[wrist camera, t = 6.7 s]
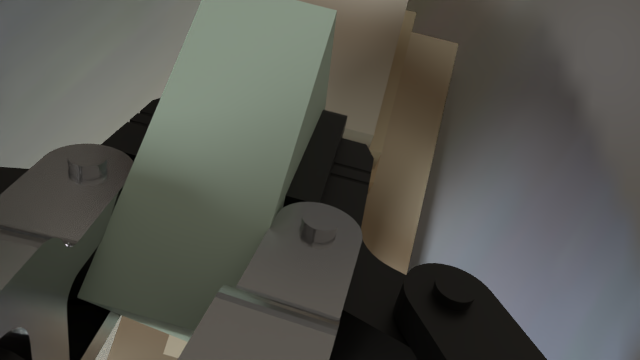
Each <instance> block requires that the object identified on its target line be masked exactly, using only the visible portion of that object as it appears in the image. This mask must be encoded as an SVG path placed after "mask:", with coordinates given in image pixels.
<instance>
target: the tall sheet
mask: <svg viewBox="0 0 640 360" xmlns="http://www.w3.org/2000/svg"><path fill="white" fill-rule="evenodd" d="M336 15H337V10H333V9H329V8H325V7H321V6H318V5H314V4H310V3H306V2H302V1H298V0H202V1H201V3H200V6H199V8H198V10H197V13H196V15H195V17H194V20H193V22H192V25H191V27H190V29H189V32H188V34H187V37H186V39H185V41H184V44H183V46H182V48H181V51H180V53H179V56H178V58H177V60H176V63H175V65H174V67H173V70H172V72H171V75H170V77H169V79H168V82H167V84H166V86H165V89H164V91H163V94H162V96H161V98H160V101H159V103H158V106H157V108H156V110H155V113H154V115H153V117H152V120H151V122H150V125H149V127H148V129H147V132H146V134H145V136H144V139H143V141H142V144H141V146H140V148H139V151H138V153H137V155H136V158H135V160H134V163H133V165H132V167H131V170H130V172H129V174H128V177H127V179H126V182H125V184H124V186H123V189H122V191H121V194H120V196H119V198H118V201H117V203H116V205H115V208H114V210H113V213H112V215H111V217H110V220H109V223H108V226H107V228H106V231H105V234H104V237H103V239H102V242H101V243H100V244H99V246H98V248H97V251H96V253H95V255H94V258H93V260H92V263H91V265H90V267H89V270H88V272H87V274H86V277H85V279H84V282H83V284H82V286H81V289H80V291H79V293H78V296H77V298H80V299H82V300H85V301H87V302H90V303H92V304H95V305H97V306H100V307H102V308H105V309H107V310H110V311H112V312H114V313H117V314H119V315H122V316H124V317H127V318H129V319H132V320H134V321H137V322H139V323H142V324H144V325H147V326H149V327H152V328H154V329H157V330H159V331H162V332H164V333H167V334H169V335H172V336H174V337H177V338H179V339H182V340H184V341H187V342H188V341H189V339H190V338H191V336H192V334H193V333H194V331H195V329H196V328H197V326H198V324H199V323H200V321H201V319H202V318H203V316H204V314H205V312H206V311H207V309H208V307H209V306H210V304H211V302H212V301H213V299H214V297H215V296H216V294H217V293H218V291H219V290H220V289H221V287H223V286H224V285H230V286H233V287H236V286H237V284H238V282H239V280H240V278H241V277H242V275H243V273H244V271H245V270H246V268H247V266H248V264H249V262H250V261H251V259H252V257H253V255H254V253H255V252H256V250H257V248H258V246H259V245H260V243H261V241H262V239H263V237H264V236H265V234H266V232H267V230H268V228H269V229H270V227H271V224H272V222H273V220H274V218H275V216H276V214H277V213H278V212H279V211H280V210H281V209H282V208H283V206H284V201H285V196H286V193H287V191H288V189H289V186H290V184H291V182H292V180H293V177H294V175H295V173H296V170H297V168H298V166H299V164H300V161H301V159H302V157H303V154H304V152H305V150H306V148H307V145H308V143H309V141H310V138H311V136H312V134H313V132H314V129H315V127H316V125H317V122H318V120H319V118H320V116H321V113H322V111H323V110H325V106H326V97H327V89H328V81H329V73H330V64H331V56H332V48H333V40H334V31H335V23H336Z"/></svg>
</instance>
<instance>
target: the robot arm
mask: <svg viewBox="0 0 640 360" xmlns="http://www.w3.org/2000/svg"><path fill="white" fill-rule="evenodd" d="M159 101H160V98H159V99H156V100H153V101H151V102H150V103H149V104H148V105H147V106H146V107H144V108H143V109H142V110H141V111H140V114H139V113H137V114H136V115H135V116H134V117H133V118H132V119H130V122H127V123H126V124H125V125H123V126H122V127H121V128H120V129H119V130H117V131H116V132H115V133H114V134H113V135H112V136H110V137H109V138H108V139H107V140H106V141H105V142H103V143H102V144H101V145H99V144H75V145H69V146H65V147H61V148H58V149H55V150H53V151H51V152H49V153H48V154H47V155H45V156H44V157H43V158H42V159H41V160H39V161H38V162H37V163H36V164H35V165H34V166H32V167H31V168H30V169H21V168H7V167H0V360H95V358H96V357H97V355H98V353H99V352H100V350H101V348H102V346H103V345H104V343H105V341H106V340H107V338H108V336H109V334H110V333H111V331H112V329H113V328H114V326H115V324H116V322H117V321H118V319H119V317H120V316H121V315H119V314H117V313H114V312H112V311H110V310H107V309H105V308H102V307H100V306H97V305H95V304H92V303H90V302H87V301H85V300H82V299H80V298H77V296H78V293H79V291H80V289H81V286H82V284H83V282H84V279H85V277H86V274H87V272H88V270H89V267H90V265H91V263H92V260H93V258H94V255H95V253H96V251H97V248H98V246H99V244H100V243H101V242H102V239H103V237H104V234H105V231H106V228H107V226H108V223H109V220H110V217H111V215H112V213H113V210H114V208H115V205H116V203H117V201H118V198H119V196H120V194H121V191H122V189H123V186H124V184H125V182H126V179H127V177H128V174H129V172H130V170H131V167H132V165H133V163H134V160H135V158H136V155H137V153H138V151H139V148H140V146H141V144H142V141H143V139H144V136H145V134H146V132H147V129H148V127H149V125H150V122H151V120H152V117H153V115H154V113H155V110H156V108H157V106H158V103H159ZM347 117H348V116H347V115H343V114H339V113H335V112H331V111H327V110H323V111H322V113H321V116H320V118H319V120H318V122H317V125H316V127H315V129H314V132H313V134H312V136H311V138H310V141H309V143H308V145H307V148H306V150H305V152H304V154H303V157H302V159H301V161H300V164H299V166H298V168H297V170H296V173H295V175H294V177H293V180H292V182H291V184H290V186H289V189H288V191H287V193H286V196H285V201H284V206H283V208H282V209H281V210H280V211H279V212H278V213H277V214H276V216H275V218H274V220H273V222H272V224H271V227H270V229H269V228H268V230H267V232H266V234H265V236H264V237H263V239H262V241H261V243H260V245H259V246H258V248H257V250H256V252H255V253H254V255H253V257H252V259H251V261H250V262H249V264H248V266H247V268H246V270H245V271H244V273H243V275H242V277H241V278H240V280H239V282H238V284H237V286H236V287H233V286H230V285H224V286H223V287H221V289H220V290H219V291H218V293H217V294H216V296H215V297H214V299H213V301H212V302H211V304H210V306H209V307H208V309H207V311H206V312H205V314H204V316H203V318H202V319H201V321H200V323H199V324H198V326H197V328H196V329H195V331H194V333H193V334H192V336H191V338H190V339H189V341H188V343H187V344H186V346H185V348H184V349H183V351H182V353H181V354H180V356H179V358H178V359H177V360H547V359H546V358H545V357H544V355H543V354H542V353H541V352H540V350H539V349H538V348H537V347H536V346H535V344H534V343H533V342H532V341H531V340H530V338H529V337H528V336H527V335H526V333H525V332H524V331H523V330H522V329H521V327H520V326H519V325H518V324H517V322H516V321H515V320H514V319H513V318H512V316H511V315H510V314H509V313H508V311H507V310H506V309H505V308H504V307H503V305H502V304H501V303H500V302H499V300H498V299H497V298H496V297H495V296H494V294H493V293H492V292H491V291H490V290H489V289H488V287H487V286H486V285H484V284H483V283H482V282H481V281H480V280H478V279H477V278H476V277H474V276H473V275H471V274H469V273H467V272H465V271H463V270H461V269H458V268H456V267H453V266H449V265H445V264H437V263H427V264H422V265H419V266H416V267H414V268H413V269H411V270H410V271H409V272H408V273H407V275H405V274H403V273H401V272H399V271H397V270H395V269H393V268H392V267H390V266H388V265H386V264H385V263H383V262H382V261H380V260H379V259H378V258H377V257H375V256H374V255H373V254H372V253H371V252H370V250H369V249H368V248H367V247H366V245H365V243H364V241H363V239H362V238H363V236H362V231H361V226H362V221H363V215H364V210H365V204H366V199H367V194H368V188H369V183H370V177H371V172H372V167H373V161H374V158H373V156H372V154H371V152H370V150H369V148H368V147H367V145H366V144H363V143H359V142H356V141H352V140H348V139H344V138H343V134H344V130H345V126H346V122H347Z"/></svg>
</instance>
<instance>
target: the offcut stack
mask: <svg viewBox="0 0 640 360" xmlns="http://www.w3.org/2000/svg"><path fill="white" fill-rule="evenodd" d="M298 1H302V2H306V3H310V4H314V5H318V6H321V7H325V8H329V9H333V10H337V15H336V23H335V31H334V40H333V48H332V56H331V64H330V73H329V81H328V89H327V97H326V106H325V110H327V111H331V112H335V113H339V114H343V115H347V116H348V117H347V122H346V126H345V130H344V134H343V138H344V139H348V140H352V141H356V142H359V143H363V144H366V145H367V147H368V148H369V150H370V152H371V154H372V156H373V158H374V161H373V167H372V172H371V177H370V183H369V188H368V193H369V191H370V189H371V187H372V185H373V183H374V179H375V175H376V171H377V167H378V163H379V159H380V156H381V152H382V148H383V144H384V140H385V136H386V132H387V128H388V124H389V120H390V116H391V112H392V108H393V104H394V100H395V96H396V92H397V88H398V84H399V80H400V76H401V72H402V68H403V64H404V61H405V57H406V53H407V49H408V45H409V41H410V37H411V33H412V29H413V25H414V21H415V17H416V12H412V11H408V10H406V8H407V4H408V0H298Z"/></svg>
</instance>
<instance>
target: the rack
mask: <svg viewBox="0 0 640 360" xmlns="http://www.w3.org/2000/svg"><path fill="white" fill-rule="evenodd" d="M458 45H459V44H458V43H454V42H450V41H446V40H442V39H438V38H434V37H430V36H426V35H422V34H418V33H414V32H412V33H411V37H410V41H409V45H408V49H407V53H406V57H405V61H404V64H403V68H402V72H401V76H400V80H399V84H398V88H397V92H396V96H395V100H394V104H393V108H392V112H391V116H390V120H389V124H388V128H387V132H386V136H385V140H384V144H383V148H382V152H381V156H380V159H379V163H378V167H377V171H376V175H375V179H374V183H373V185H372V187H371V189H370V191H369V193H368V194H367V199H366V204H365V210H364V215H363V221H362V226H361V231H362V236H363V238H362V239H363V241H364V243H365V245H366V247H367V248H368V249H369V250H370V252H371V253H372V254H373V255H374V256H375V257H377V258H378V259H379V260H380V261H382V262H383V263H385V264H386V265H388V266H390V267H392V268H393V269H395V270H397V271H399V272H401V273H403V274H405V275H407V271H408V266H409V262H410V257H411V253H412V249H413V244H414V240H415V235H416V231H417V226H418V222H419V217H420V213H421V209H422V204H423V200H424V195H425V191H426V186H427V182H428V178H429V173H430V169H431V164H432V160H433V155H434V151H435V147H436V142H437V138H438V133H439V129H440V124H441V120H442V115H443V111H444V107H445V102H446V98H447V93H448V89H449V84H450V80H451V76H452V71H453V67H454V62H455V58H456V53H457V49H458ZM187 343H188V342H187V341H184V340H182V339H179V338H177V337H174V336H172V335H169V334H167V333H164V332H162V331H159V330H157V329H154V328H152V327H149V326H147V325H144V324H142V323H139V322H137V321H134V320H132V319H129V318H127V317H124V316H122V318H121V321H120V324H119V327H118V330H117V332H116V335H115V338H114V341H113V344H112V347H111V350H110V353H109V356H108V358H107V360H177V359H178V358H179V356H180V354H181V353H182V351H183V349H184V348H185V346H186V344H187Z"/></svg>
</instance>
